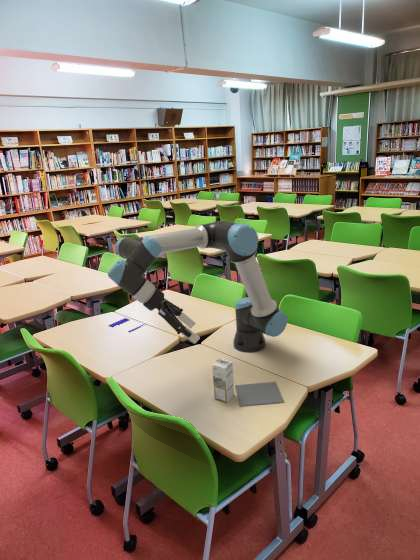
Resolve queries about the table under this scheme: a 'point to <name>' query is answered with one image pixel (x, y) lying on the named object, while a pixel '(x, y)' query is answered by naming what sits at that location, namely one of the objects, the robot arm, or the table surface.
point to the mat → (258, 394)
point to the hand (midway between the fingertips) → (195, 332)
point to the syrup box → (223, 380)
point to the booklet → (122, 323)
